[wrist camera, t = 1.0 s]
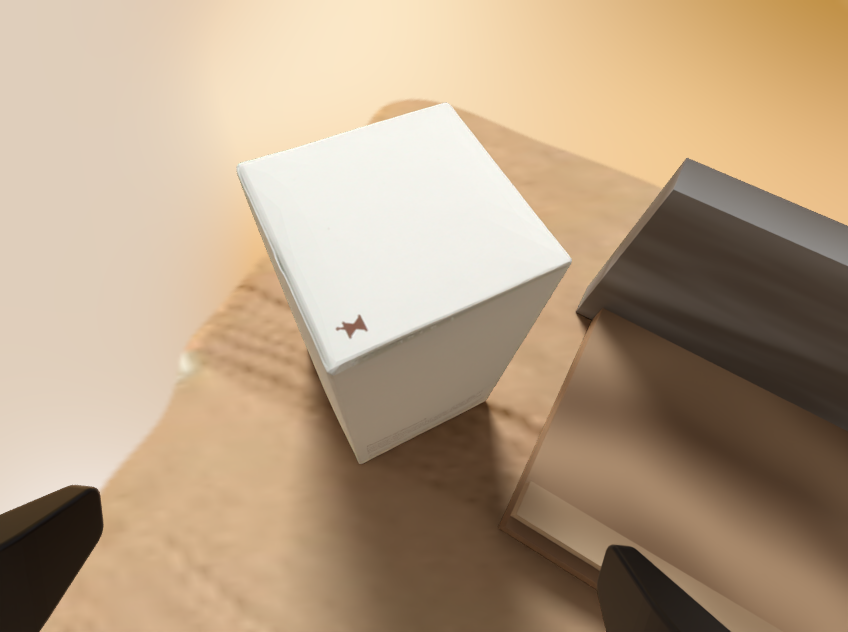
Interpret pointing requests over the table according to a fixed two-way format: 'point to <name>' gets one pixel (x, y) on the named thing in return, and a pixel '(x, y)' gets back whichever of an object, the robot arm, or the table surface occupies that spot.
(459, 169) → the supplement box
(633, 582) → the robot arm
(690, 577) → the ledge
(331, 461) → the table surface
